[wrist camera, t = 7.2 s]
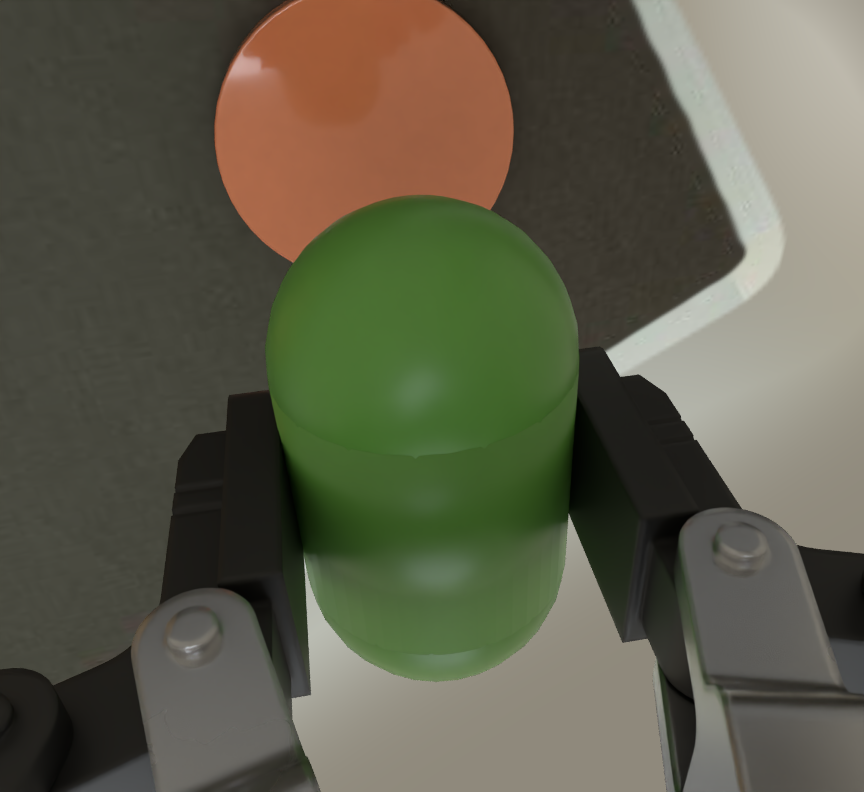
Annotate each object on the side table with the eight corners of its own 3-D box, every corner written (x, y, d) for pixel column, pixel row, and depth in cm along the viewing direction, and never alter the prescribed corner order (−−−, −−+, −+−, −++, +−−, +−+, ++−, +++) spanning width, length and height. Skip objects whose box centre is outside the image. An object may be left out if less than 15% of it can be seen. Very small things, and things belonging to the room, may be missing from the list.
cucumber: (241, 164, 11) (231, 321, 8) (536, 132, 11) (644, 269, 8) (317, 557, 15) (330, 758, 12) (525, 525, 16) (591, 710, 13)
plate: (183, -8, 20) (181, -2, 19) (510, -35, 20) (516, -31, 20) (246, 286, 24) (245, 296, 24) (508, 254, 25) (513, 263, 25)
